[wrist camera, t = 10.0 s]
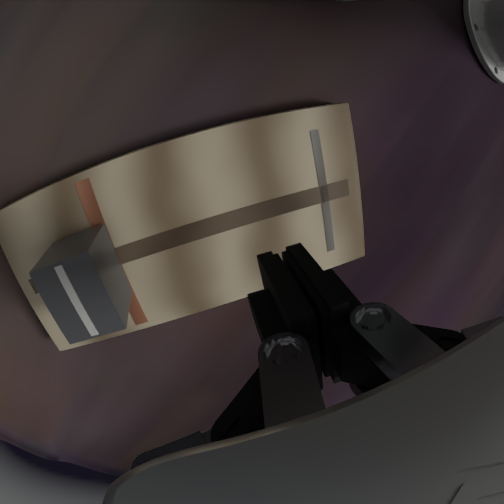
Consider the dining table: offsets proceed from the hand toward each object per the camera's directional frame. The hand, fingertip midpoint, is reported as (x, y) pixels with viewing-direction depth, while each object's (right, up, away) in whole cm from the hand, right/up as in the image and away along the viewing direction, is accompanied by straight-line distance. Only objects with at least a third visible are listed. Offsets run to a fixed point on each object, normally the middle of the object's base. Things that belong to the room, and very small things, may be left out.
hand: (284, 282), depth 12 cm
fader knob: (-12, 0, +7) cm, 14 cm away
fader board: (-6, +3, +10) cm, 12 cm away
